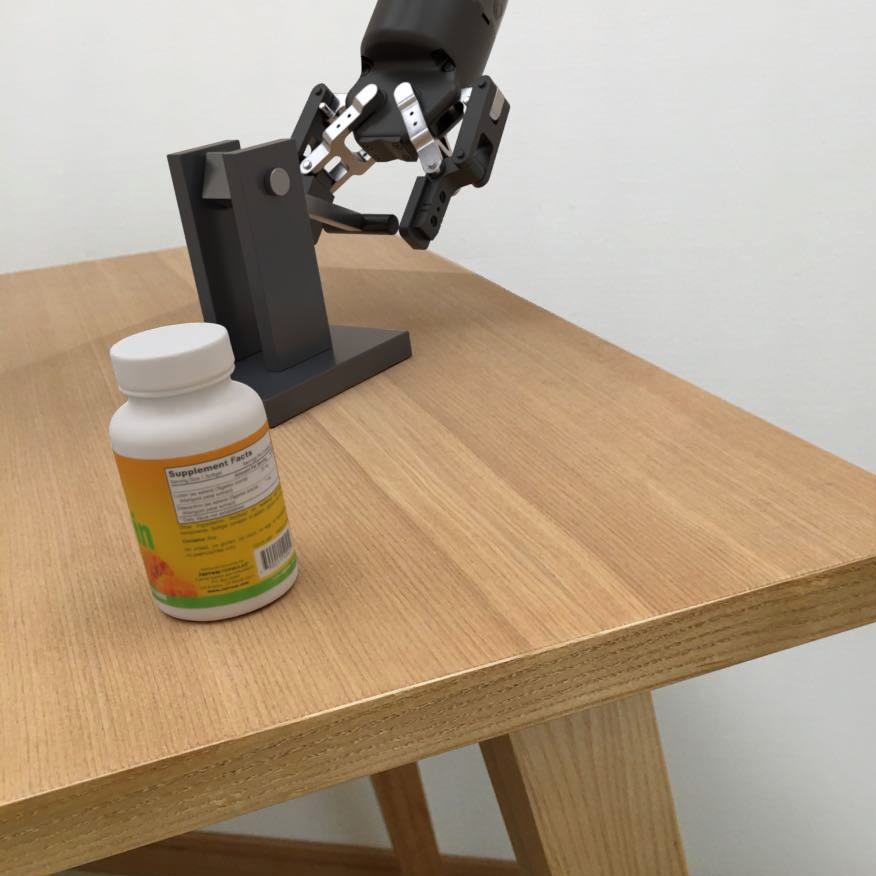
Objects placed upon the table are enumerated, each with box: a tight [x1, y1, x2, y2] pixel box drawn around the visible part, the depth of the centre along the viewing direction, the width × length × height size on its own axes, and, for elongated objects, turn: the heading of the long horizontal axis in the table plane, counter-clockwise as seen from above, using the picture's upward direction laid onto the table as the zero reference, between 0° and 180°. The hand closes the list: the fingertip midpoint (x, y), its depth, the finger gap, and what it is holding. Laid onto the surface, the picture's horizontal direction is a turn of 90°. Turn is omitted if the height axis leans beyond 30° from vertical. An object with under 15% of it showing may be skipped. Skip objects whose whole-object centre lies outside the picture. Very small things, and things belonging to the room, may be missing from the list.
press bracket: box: [166, 137, 413, 428], centre depth 66 cm, size 12×10×13 cm
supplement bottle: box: [108, 322, 299, 622], centre depth 44 cm, size 5×5×10 cm
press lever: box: [202, 152, 400, 236], centre depth 68 cm, size 12×5×2 cm, turn 149°
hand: (354, 240), depth 73 cm, fingers open, 8 cm apart
